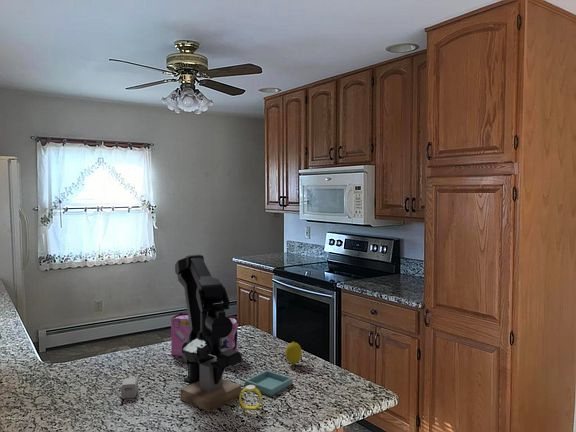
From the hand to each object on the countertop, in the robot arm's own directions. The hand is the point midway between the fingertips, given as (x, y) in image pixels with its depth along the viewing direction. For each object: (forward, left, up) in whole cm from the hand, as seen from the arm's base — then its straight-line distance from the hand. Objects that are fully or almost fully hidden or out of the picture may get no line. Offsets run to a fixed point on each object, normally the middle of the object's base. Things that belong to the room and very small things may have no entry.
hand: (211, 381), depth 128 cm
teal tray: (+8, +16, -4) cm, 18 cm away
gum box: (-27, +22, -5) cm, 36 cm away
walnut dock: (0, 0, -4) cm, 4 cm away
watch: (+13, +2, -5) cm, 14 cm away
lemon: (+4, +34, -5) cm, 35 cm away
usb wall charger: (-21, -12, -5) cm, 25 cm away
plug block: (0, 0, -2) cm, 2 cm away
